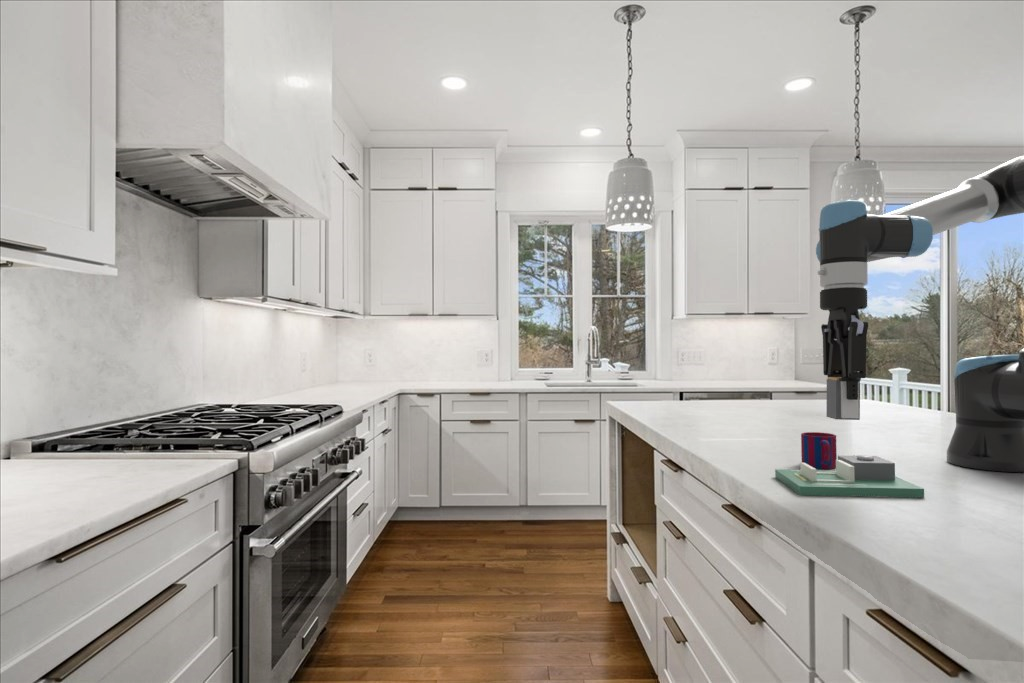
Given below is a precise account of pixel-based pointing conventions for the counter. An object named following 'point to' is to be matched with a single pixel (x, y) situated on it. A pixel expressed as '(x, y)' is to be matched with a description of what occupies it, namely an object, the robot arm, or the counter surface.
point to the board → (843, 483)
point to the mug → (819, 450)
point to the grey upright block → (836, 399)
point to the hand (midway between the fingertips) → (843, 416)
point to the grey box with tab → (870, 467)
